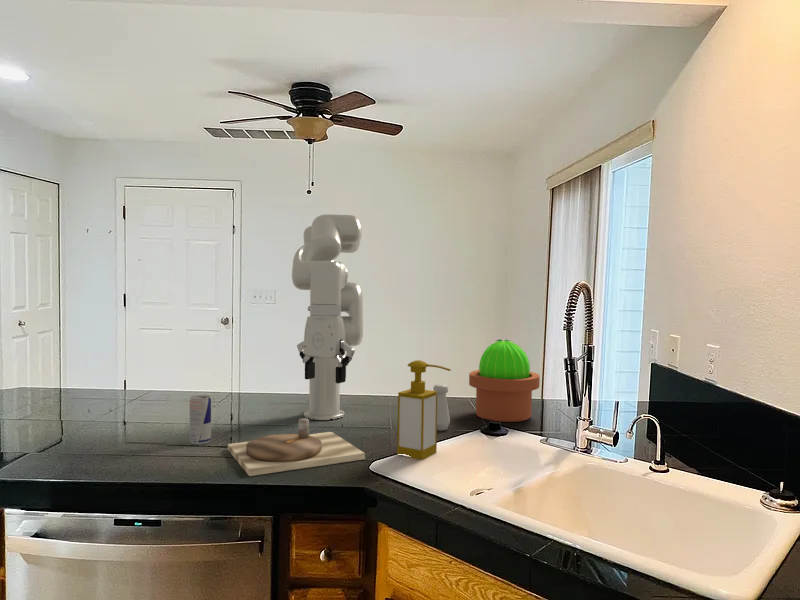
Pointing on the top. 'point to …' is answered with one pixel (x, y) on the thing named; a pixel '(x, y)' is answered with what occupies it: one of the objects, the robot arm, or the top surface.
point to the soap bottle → (417, 416)
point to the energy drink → (200, 420)
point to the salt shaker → (442, 407)
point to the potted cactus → (504, 383)
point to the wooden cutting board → (330, 454)
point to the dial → (285, 445)
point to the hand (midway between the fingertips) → (324, 380)
